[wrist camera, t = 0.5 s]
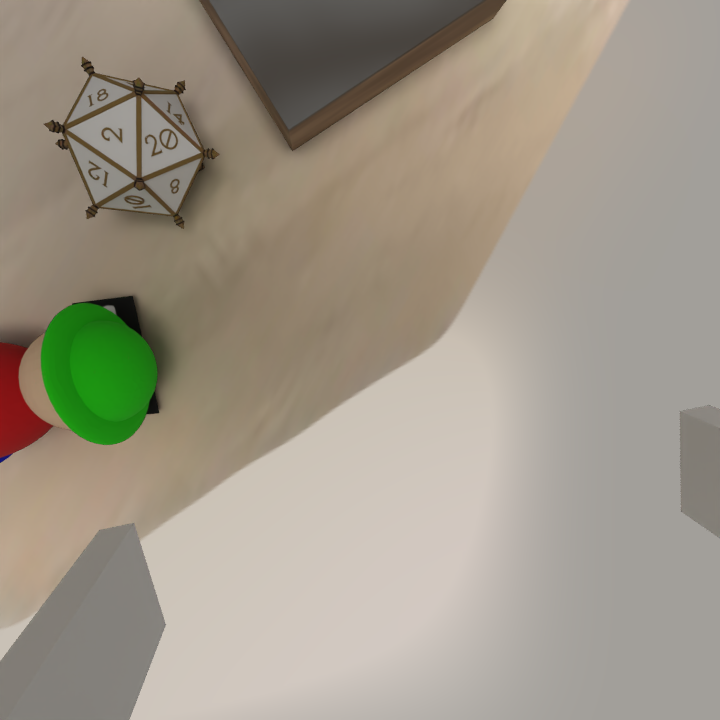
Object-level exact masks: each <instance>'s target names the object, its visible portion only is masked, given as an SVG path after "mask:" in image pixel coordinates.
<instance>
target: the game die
mask: <svg viewBox="0 0 720 720" xmlns="http://www.w3.org/2000/svg"><path fill="white" fill-rule="evenodd" d="M81 67H83V68H84V71H85V72H87V73H88V74H89V78H88V79H87V81H86V83H85V85H84V87H83V89H82V91H81V92H80V94H79V96H78V98H77V100H76V102H75V103H74V105H73V107H72V109H71V111H70V113H69V115H68V116H67V118H66V120H65V122H64V124H63V125H61V124H59V122H54V120H52V121H51V122H48V123H45V124H44V125H45V126H46V127H47V128H48V129H49V131H51V132H56V133H59V132H62V134H63V136H64V138H65V140H63V139H61V140H58V142H57V143H55V144H56V145H58V146H59V147H60V148H61V149H62V150H64V149H66V150H67V149H68V148H69V150H70V152H71V155H72V157H73V159H74V161H75V164H76V166H77V168H78V171H79V173H80V175H81V178H82V180H83V182H84V185H85V187H86V189H87V192H88V194H89V196H90V198H91V201H92V203H93V205H92V206H91V207H88V210H85V211H86V215H87V219H89V218H91V217H95V214H96V213H97V210H98V209H99V208H103V209H112V210H121V211H130V212H139V213H148V214H157V215H166V216H173V217H174V220H175V221H174V222H176V225H178V226H179V227H181V228H182V229H184V221H183V220H182V217H180V216H179V215H178V213H179V211H180V209H181V207H182V204H183V202H184V200H185V198H186V196H187V194H188V192H189V189H190V187H191V185H192V183H193V181H194V179H195V177H196V175H197V172H198V170H199V171H200V170H202V169H203V168H205V167H204V165H203V163H202V162H203V160H204V158H205V157H208V159H209V158H212V159H215V157H217V156H218V155H220V154H218V153H217V152H216V151H214V149H208V150H204V148H203V146H202V144H201V142H200V140H199V138H198V136H197V133H196V131H195V129H194V127H193V125H192V123H191V121H190V119H189V116H188V114H187V112H186V110H185V108H184V106H183V104H182V102H181V99H180V97H179V94H181V93H183V91H184V90H186V89H185V81H181V82H177V85H175V90H174V91H173V90H169V89H164V88H160V87H155V86H151V85H146V84H145V83H143V82H142V81H141V79H140V78H138V79H136V80H134V81H128V80H124V79H119V78H115V77H110V76H106V75H101V74H97V73H95V72H94V70H93V69H94V67H93V66H92V65H91V61H90V62H89V61H88V60H86V59H85V58H84V57H82V65H81Z"/></svg>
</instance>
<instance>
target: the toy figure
mask: <svg viewBox="0 0 720 720" xmlns="http://www.w3.org/2000/svg"><path fill="white" fill-rule="evenodd" d="M156 383H157V364H156V360H155V357H154V354H153V352H152V350H151V348H150V346H149V345H148V343H147V342H146V341H145V340H144V339H143V338H142V335H141V330H140V326H139V322H138V317H137V313H136V309H135V304H134V300H133V296H128V297H120V298H112V299H104V300H96V301H88V302H81V303H73V304H72V305H71V306H68V307H67V308H65V309H63V310H62V311H60V312H59V313H58V314H57V315H56V316H55V317H54V318H53V320H52V321H51V322H50V324H49V326H48V328H47V330H46V332H45V333H44V334H42V335H41V336H39V337H38V338H37V339H36V340H35V341H34V342H33V343H32V344H31V345H30V346H29V348H25V347H22V346H19V345H14V344H9V343H2V342H0V463H1V462H2V461H4V460H5V459H7V458H8V457H9V456H11V455H12V454H13V453H14V452H17V451H19V450H21V449H23V448H25V447H27V446H28V445H30V444H32V443H33V442H35V441H36V440H38V439H39V438H40V437H42V436H43V435H44V434H45V433H46V432H47V431H48V430H49V429H51V428H52V427H53V425H54V426H56V427H59V428H64V429H69V430H72V431H73V432H75V433H76V434H77V435H78V436H80V437H82V438H84V439H86V440H87V441H90V442H93V443H96V444H102V445H112V444H117V443H120V442H123V441H125V440H126V439H128V438H129V437H131V436H132V435H133V434H134V433H135V432H136V431H137V430H138V428H139V427H140V426H141V424H142V422H143V420H144V418H145V416H146V414H155V413H159V410H158V405H157V401H156V396H155V392H154V390H155V387H156Z"/></svg>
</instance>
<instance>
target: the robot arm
mask: <svg viewBox="0 0 720 720" xmlns="http://www.w3.org/2000/svg"><path fill="white" fill-rule="evenodd" d="M680 464H681V465H680V467H681V468H680V469H681V512H683V513H684V514H685V515H687V516H688V517H690V518H691V519H693V520H694V521H695V522H697V523H698V524H700V525H701V526H703V527H704V528H706V529H707V530H709V531H710V532H711V533H713V534H714V535H716V536H717V537H719V538H720V409H718V408H716V407H713V406H710V405H707V406H703V407H698V408H693V409H688V410H683V411H680ZM165 625H166V624H165V621H164V617H163V614H162V611H161V608H160V605H159V602H158V598H157V595H156V592H155V589H154V585H153V582H152V579H151V576H150V573H149V569H148V566H147V563H146V560H145V556H144V553H143V550H142V547H141V544H140V540H139V537H138V534H137V531H136V528H135V524H134V523H131V524H127V525H122V526H117V527H112V528H107V529H102V530H99V531H98V533H97V534H96V535H95V537H94V538H93V539H92V541H91V542H90V543H89V545H88V546H87V547H86V549H85V550H84V551H83V553H82V554H81V555H80V556H79V558H78V559H77V560H76V562H75V563H74V564H73V566H72V567H71V568H70V570H69V571H68V572H67V574H66V575H65V576H64V578H63V579H62V580H61V582H60V583H59V584H58V586H57V587H56V588H55V590H54V591H53V592H52V594H51V595H50V596H49V597H48V599H47V600H46V601H45V603H44V604H43V605H42V607H41V608H40V609H39V611H38V612H37V613H36V615H35V616H34V617H33V619H32V620H31V621H30V623H29V624H28V625H27V627H26V628H25V629H24V631H23V632H22V633H21V635H20V636H19V637H18V639H17V640H16V641H15V642H14V644H13V645H12V646H11V648H10V649H9V650H8V652H7V653H6V654H5V656H4V657H3V658H2V660H1V661H0V720H129V719H130V717H131V714H132V711H133V708H134V706H135V704H136V701H137V698H138V696H139V693H140V690H141V688H142V685H143V683H144V680H145V677H146V675H147V672H148V670H149V667H150V664H151V662H152V659H153V657H154V654H155V651H156V649H157V646H158V644H159V641H160V638H161V636H162V633H163V631H164V628H165Z"/></svg>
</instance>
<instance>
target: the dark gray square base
mask: <svg viewBox="0 0 720 720" xmlns="http://www.w3.org/2000/svg"><path fill="white" fill-rule="evenodd" d="M200 2H201V4H202V5H203V7H204V8H205V10H206V12H207V13H208V15H209V17H210V18H211V20H212V21H213V23H214V25H215V26H216V28H217V30H218V31H219V33H220V34H221V36H222V38H223V39H224V41H225V42H226V44H227V46H228V47H229V49H230V51H231V52H232V54H233V55H234V57H235V59H236V60H237V62H238V63H239V65H240V67H241V68H242V70H243V72H244V73H245V75H246V76H247V78H248V80H249V81H250V83H251V85H252V86H253V88H254V89H255V91H256V93H257V94H258V96H259V97H260V99H261V101H262V102H263V104H264V106H265V107H266V109H267V110H268V112H269V114H270V115H271V117H272V119H273V120H274V122H275V123H276V125H277V127H278V128H279V130H280V131H281V133H282V135H283V136H284V138H285V140H286V141H287V143H288V144H289V146H290V148H291V149H292V151H293V150H295V149H296V148H298V147H299V146H301V145H302V144H304V143H305V142H307V141H308V140H310V139H312V138H313V137H315V136H316V135H318V134H319V133H321V132H322V131H324V130H325V129H327V128H328V127H330V126H331V125H333V124H334V123H336V122H337V121H339V120H340V119H342V118H343V117H345V116H346V115H348V114H349V113H351V112H352V111H354V110H355V109H357V108H358V107H360V106H361V105H363V104H364V103H366V102H367V101H369V100H370V99H372V98H373V97H375V96H377V95H378V94H380V93H381V92H383V91H384V90H386V89H387V88H389V87H390V86H392V85H393V84H395V83H396V82H398V81H399V80H401V79H402V78H404V77H405V76H407V75H408V74H410V73H411V72H413V71H414V70H416V69H417V68H419V67H420V66H422V65H423V64H425V63H426V62H428V61H429V60H431V59H432V58H434V57H435V56H437V55H438V54H440V53H441V52H443V51H445V50H446V49H448V48H449V47H451V46H452V45H454V44H455V43H457V42H458V41H460V40H461V39H463V38H464V37H466V36H467V35H469V34H470V33H472V32H473V31H475V30H476V29H478V28H479V27H481V26H482V25H484V24H485V23H487V22H488V21H490V20H491V19H493V18H494V16H495V15H496V14H497V12H498V11H499V10H500V8H501V7H502V6H503V4H504V3H505V2H506V0H200Z"/></svg>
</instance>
